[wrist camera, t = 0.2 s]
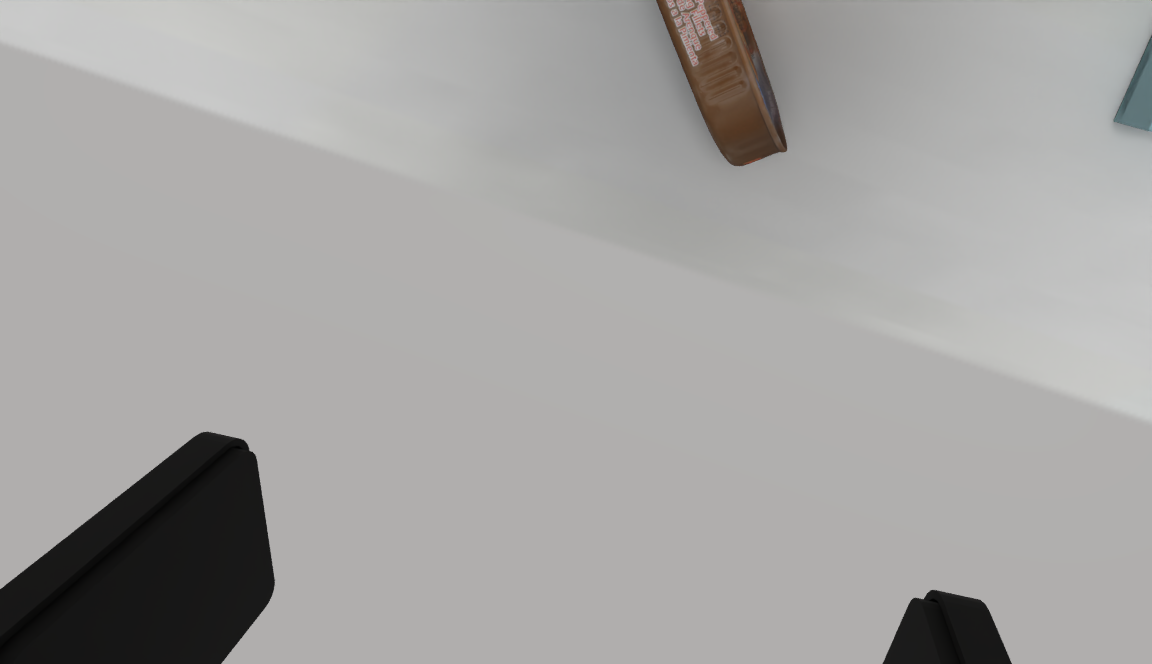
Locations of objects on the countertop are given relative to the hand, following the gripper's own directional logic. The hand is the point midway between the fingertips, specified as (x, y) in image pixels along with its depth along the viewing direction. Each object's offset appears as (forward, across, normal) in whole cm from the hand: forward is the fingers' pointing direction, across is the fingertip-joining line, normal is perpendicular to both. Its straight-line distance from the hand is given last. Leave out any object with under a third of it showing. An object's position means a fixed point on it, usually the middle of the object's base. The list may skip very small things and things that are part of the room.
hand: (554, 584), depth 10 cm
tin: (+31, 0, -8) cm, 32 cm away
